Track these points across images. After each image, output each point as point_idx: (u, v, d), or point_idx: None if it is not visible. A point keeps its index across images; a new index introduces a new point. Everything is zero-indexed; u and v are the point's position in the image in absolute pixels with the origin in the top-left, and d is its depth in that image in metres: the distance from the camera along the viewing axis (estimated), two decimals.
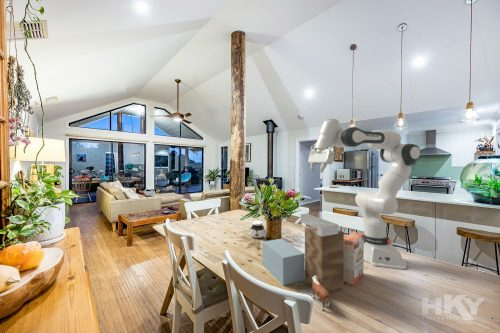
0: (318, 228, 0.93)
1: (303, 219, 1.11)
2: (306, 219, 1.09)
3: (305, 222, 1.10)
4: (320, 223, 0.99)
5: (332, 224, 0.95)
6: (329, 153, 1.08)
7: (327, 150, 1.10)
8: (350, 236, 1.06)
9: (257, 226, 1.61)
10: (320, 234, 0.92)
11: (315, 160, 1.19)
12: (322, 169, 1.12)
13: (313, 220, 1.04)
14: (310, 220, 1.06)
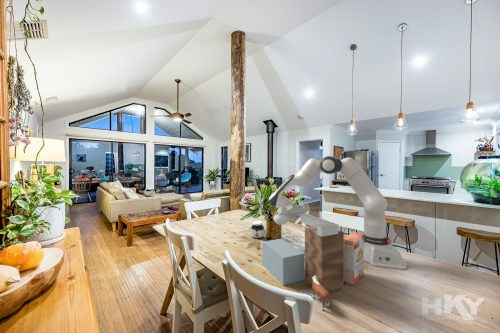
0: (318, 228, 0.93)
1: (303, 219, 1.11)
2: (306, 219, 1.09)
3: (305, 222, 1.10)
4: (320, 223, 0.99)
5: (332, 224, 0.95)
6: (278, 214, 1.29)
7: (280, 215, 1.30)
8: (350, 236, 1.06)
9: (257, 226, 1.61)
10: (320, 234, 0.92)
11: (297, 211, 1.29)
12: (290, 207, 1.24)
13: (313, 220, 1.04)
14: (310, 220, 1.06)
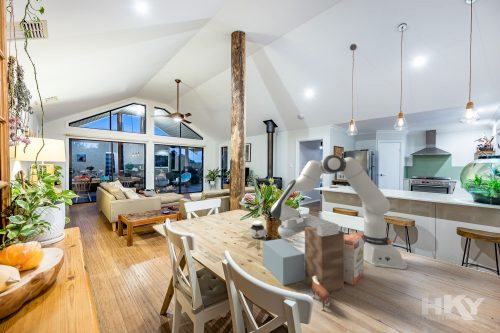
0: (318, 228, 0.93)
1: None
2: (306, 219, 1.09)
3: (305, 222, 1.10)
4: (320, 223, 0.99)
5: (332, 224, 0.95)
6: (284, 228, 1.14)
7: (286, 229, 1.16)
8: (350, 236, 1.06)
9: (257, 226, 1.61)
10: (320, 234, 0.92)
11: (305, 224, 1.15)
12: (301, 220, 1.10)
13: (313, 220, 1.04)
14: (310, 220, 1.06)
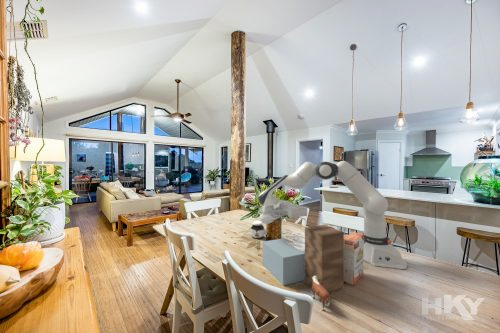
0: (288, 210, 1.04)
1: None
2: (282, 205, 1.20)
3: (281, 207, 1.20)
4: (292, 207, 1.10)
5: (302, 207, 1.05)
6: (262, 213, 1.25)
7: (264, 214, 1.27)
8: (350, 236, 1.06)
9: (257, 226, 1.61)
10: (290, 216, 1.03)
11: (282, 210, 1.26)
12: (277, 205, 1.21)
13: (287, 205, 1.14)
14: (285, 205, 1.17)
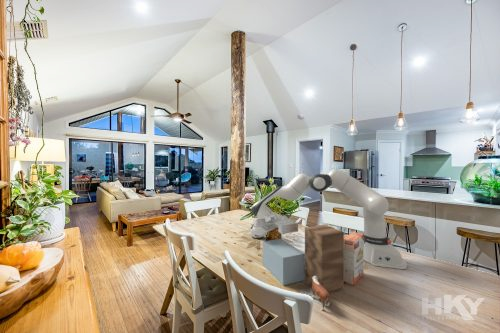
0: (279, 226, 1.02)
1: None
2: (273, 218, 1.18)
3: (272, 221, 1.18)
4: (283, 222, 1.08)
5: (292, 223, 1.04)
6: (254, 226, 1.23)
7: (256, 227, 1.25)
8: (350, 236, 1.06)
9: None
10: (280, 231, 1.01)
11: (274, 223, 1.24)
12: (269, 218, 1.19)
13: (278, 219, 1.13)
14: (276, 219, 1.15)
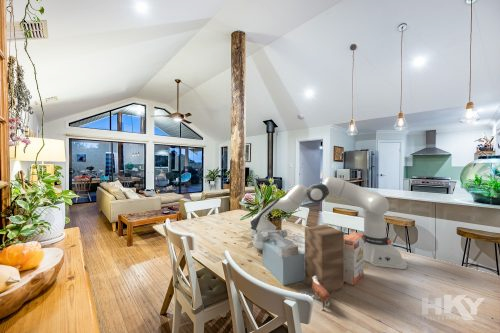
0: (279, 250, 1.02)
1: (271, 238, 1.20)
2: (273, 239, 1.18)
3: (272, 241, 1.19)
4: (283, 244, 1.08)
5: (292, 246, 1.04)
6: (254, 240, 1.23)
7: (256, 241, 1.25)
8: (350, 236, 1.06)
9: None
10: (280, 255, 1.01)
11: None
12: (266, 234, 1.19)
13: (278, 240, 1.13)
14: (276, 240, 1.15)
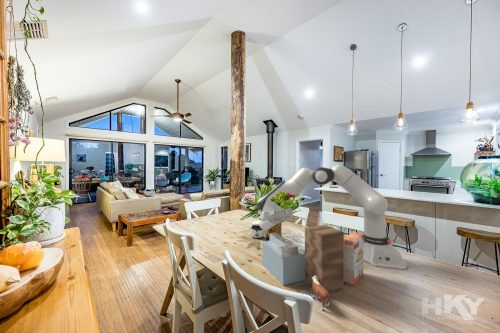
0: (279, 250, 1.02)
1: (271, 238, 1.20)
2: (273, 239, 1.18)
3: (272, 241, 1.19)
4: (283, 244, 1.08)
5: (292, 246, 1.04)
6: (261, 219, 1.27)
7: (263, 220, 1.29)
8: (350, 236, 1.06)
9: (257, 226, 1.61)
10: (280, 255, 1.01)
11: (280, 216, 1.28)
12: (272, 212, 1.22)
13: (278, 240, 1.13)
14: (276, 240, 1.15)
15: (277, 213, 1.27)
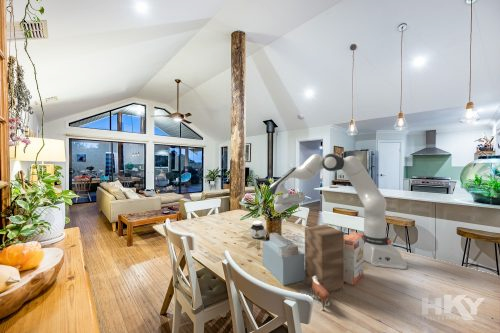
0: (279, 250, 1.02)
1: (271, 238, 1.20)
2: (273, 239, 1.18)
3: (272, 241, 1.19)
4: (283, 244, 1.08)
5: (292, 246, 1.04)
6: (275, 202, 1.32)
7: (277, 203, 1.34)
8: (350, 236, 1.06)
9: (257, 226, 1.61)
10: (280, 255, 1.01)
11: (293, 199, 1.33)
12: (286, 195, 1.28)
13: (278, 240, 1.13)
14: (276, 240, 1.15)
15: (290, 197, 1.33)
